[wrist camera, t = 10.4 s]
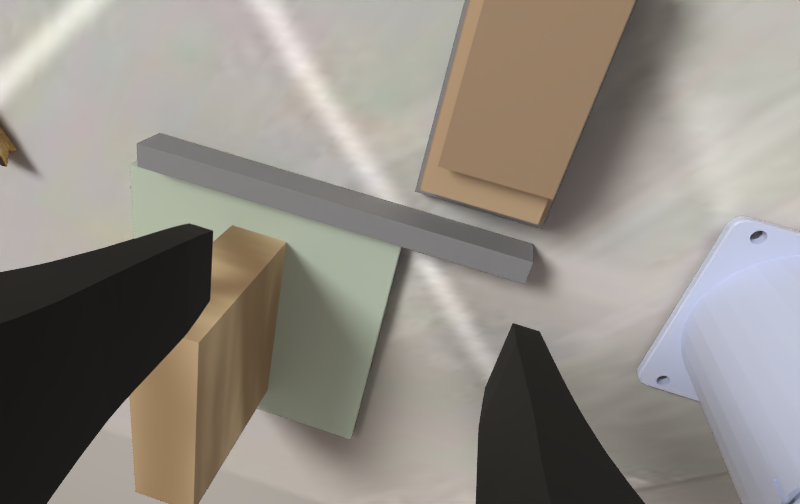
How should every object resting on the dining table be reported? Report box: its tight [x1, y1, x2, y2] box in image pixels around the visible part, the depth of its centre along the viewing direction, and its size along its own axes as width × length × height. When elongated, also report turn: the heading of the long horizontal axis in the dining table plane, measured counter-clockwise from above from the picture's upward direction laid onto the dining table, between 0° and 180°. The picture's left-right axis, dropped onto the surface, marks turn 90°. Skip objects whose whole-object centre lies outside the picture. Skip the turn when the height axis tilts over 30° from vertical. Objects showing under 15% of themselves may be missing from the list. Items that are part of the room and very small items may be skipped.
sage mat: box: [130, 161, 402, 440], centre depth 25 cm, size 12×12×1 cm
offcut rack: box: [137, 0, 637, 284], centre depth 17 cm, size 16×15×3 cm
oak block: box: [130, 225, 287, 504], centre depth 21 cm, size 2×9×7 cm, turn 167°
